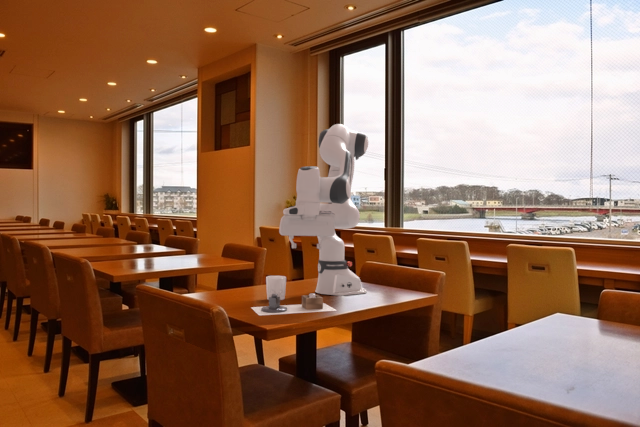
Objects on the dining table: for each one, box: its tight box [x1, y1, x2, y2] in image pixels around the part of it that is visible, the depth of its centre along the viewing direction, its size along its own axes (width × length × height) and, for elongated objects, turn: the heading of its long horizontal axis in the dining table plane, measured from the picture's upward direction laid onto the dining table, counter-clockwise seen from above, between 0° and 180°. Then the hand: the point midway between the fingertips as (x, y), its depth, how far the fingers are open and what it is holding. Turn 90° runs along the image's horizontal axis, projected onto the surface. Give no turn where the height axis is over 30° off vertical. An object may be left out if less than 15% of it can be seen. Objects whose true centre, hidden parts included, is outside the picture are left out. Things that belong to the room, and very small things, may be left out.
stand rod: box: [308, 293, 316, 298], centre depth 185 cm, size 2×2×5 cm
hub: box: [261, 294, 287, 313], centre depth 180 cm, size 9×9×6 cm
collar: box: [301, 294, 324, 310], centre depth 185 cm, size 6×6×4 cm
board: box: [250, 302, 338, 317], centre depth 183 cm, size 28×14×2 cm, turn 109°
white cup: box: [265, 275, 287, 301], centre depth 202 cm, size 8×8×10 cm
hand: (306, 248), depth 187 cm, fingers open, 8 cm apart
